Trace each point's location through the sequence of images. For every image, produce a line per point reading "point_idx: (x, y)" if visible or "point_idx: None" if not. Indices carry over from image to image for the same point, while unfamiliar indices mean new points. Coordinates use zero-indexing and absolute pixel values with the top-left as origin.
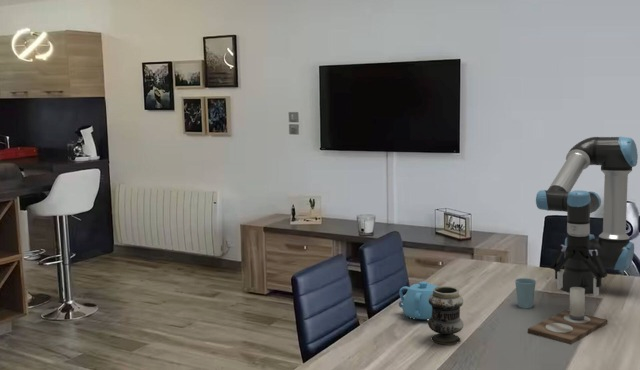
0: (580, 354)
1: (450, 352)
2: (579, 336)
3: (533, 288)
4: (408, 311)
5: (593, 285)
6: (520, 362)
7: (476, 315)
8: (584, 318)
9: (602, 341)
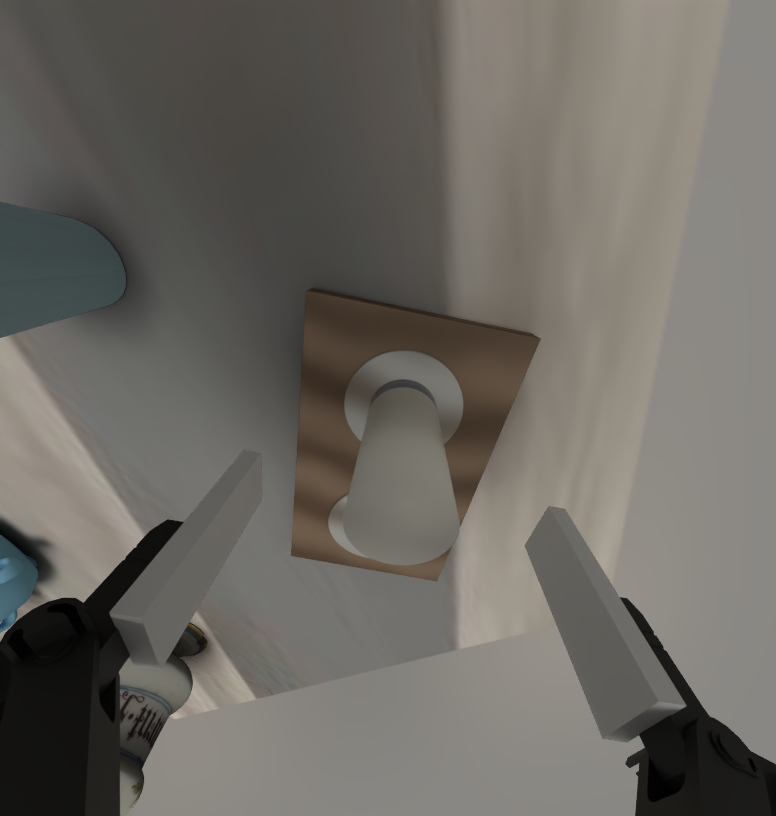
0: (472, 608)
1: (231, 669)
2: None
3: (1, 285)
4: None
5: (562, 636)
6: (366, 665)
7: (68, 479)
8: (435, 396)
9: (521, 520)
